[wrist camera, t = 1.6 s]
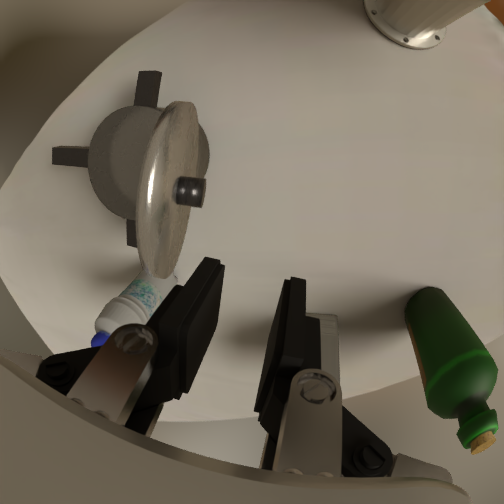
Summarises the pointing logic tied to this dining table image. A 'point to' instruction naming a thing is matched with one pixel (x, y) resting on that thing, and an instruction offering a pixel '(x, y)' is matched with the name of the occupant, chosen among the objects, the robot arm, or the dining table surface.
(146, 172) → the lid
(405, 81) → the dining table surface
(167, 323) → the robot arm
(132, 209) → the cooker
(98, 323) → the bottle
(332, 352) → the skincare box
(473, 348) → the bottle
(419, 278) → the dining table surface
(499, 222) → the dining table surface
